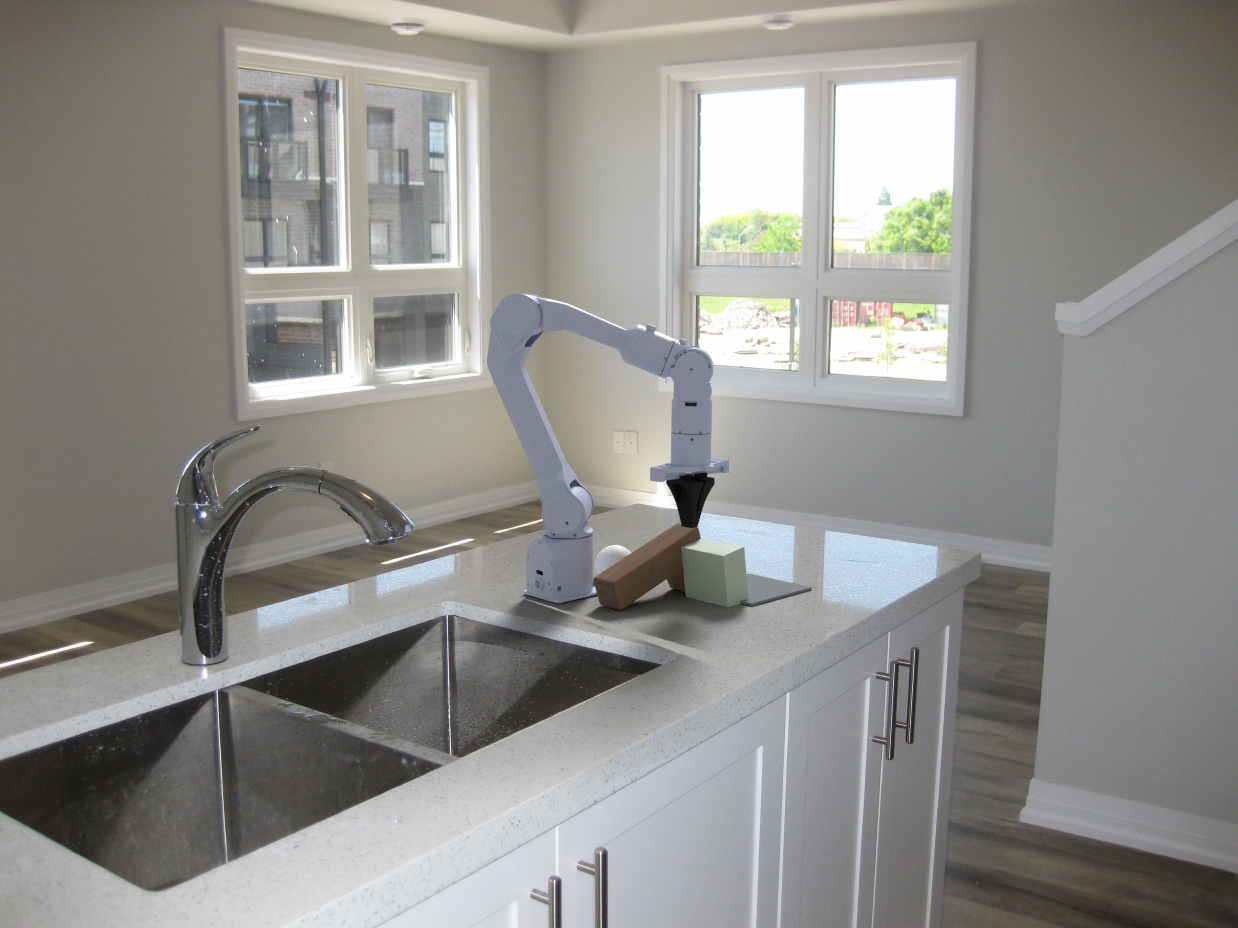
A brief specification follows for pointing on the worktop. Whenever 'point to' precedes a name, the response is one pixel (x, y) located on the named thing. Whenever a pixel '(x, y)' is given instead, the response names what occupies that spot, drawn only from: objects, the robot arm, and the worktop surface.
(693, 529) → the wooden block
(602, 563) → the lightbulb
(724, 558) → the sage block
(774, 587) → the mat
